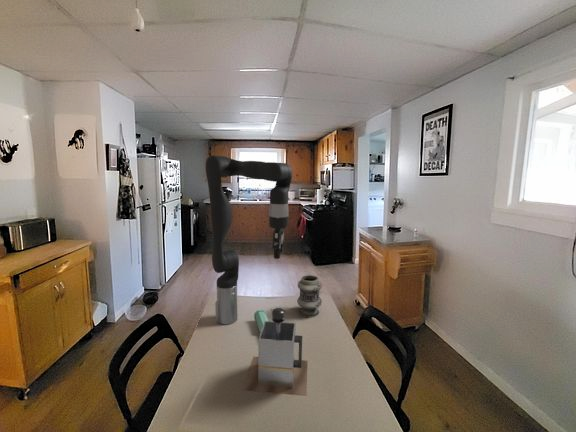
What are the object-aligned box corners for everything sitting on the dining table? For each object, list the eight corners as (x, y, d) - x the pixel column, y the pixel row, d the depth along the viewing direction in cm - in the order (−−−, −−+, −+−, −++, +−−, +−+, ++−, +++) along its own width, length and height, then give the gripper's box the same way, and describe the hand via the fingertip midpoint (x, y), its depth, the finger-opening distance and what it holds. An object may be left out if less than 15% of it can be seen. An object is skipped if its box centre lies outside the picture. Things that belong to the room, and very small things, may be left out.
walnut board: (242, 393, 87) (242, 390, 86) (253, 359, 102) (253, 356, 102) (306, 399, 85) (306, 395, 85) (307, 363, 101) (307, 360, 100)
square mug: (258, 385, 88) (258, 340, 86) (264, 361, 99) (264, 320, 97) (300, 389, 87) (301, 343, 84) (301, 364, 98) (303, 323, 96)
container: (276, 338, 105) (263, 307, 129) (262, 346, 104) (251, 313, 128) (282, 350, 107) (268, 317, 131) (268, 358, 106) (256, 323, 129)
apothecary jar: (298, 305, 145) (299, 272, 142) (321, 307, 143) (322, 274, 140) (295, 317, 133) (296, 281, 130) (320, 319, 131) (322, 283, 128)
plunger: (263, 365, 89) (263, 316, 86) (267, 348, 97) (267, 304, 94) (289, 367, 88) (290, 318, 85) (291, 350, 96) (292, 305, 94)
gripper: (271, 212, 115) (271, 249, 117) (266, 217, 101) (265, 260, 103) (289, 212, 114) (289, 250, 116) (286, 218, 100) (285, 261, 102)
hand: (278, 255), depth 110 cm, fingers open, 8 cm apart
